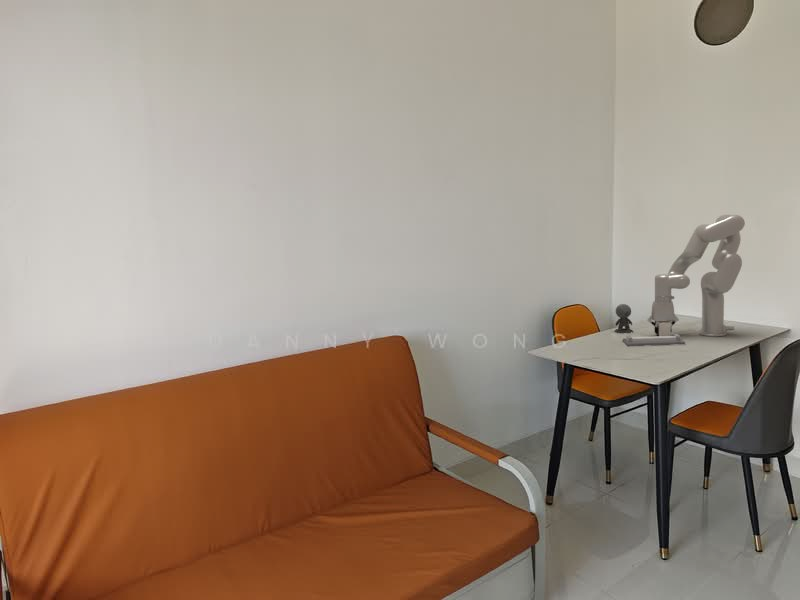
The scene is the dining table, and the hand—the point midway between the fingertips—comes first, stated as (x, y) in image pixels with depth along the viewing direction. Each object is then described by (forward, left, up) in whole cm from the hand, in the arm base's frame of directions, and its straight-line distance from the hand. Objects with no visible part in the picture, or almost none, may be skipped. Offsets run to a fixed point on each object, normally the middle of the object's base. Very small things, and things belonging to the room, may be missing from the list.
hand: (662, 333), depth 281 cm
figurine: (+16, -14, -2) cm, 21 cm away
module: (0, 0, -1) cm, 1 cm away
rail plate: (+8, +12, -1) cm, 15 cm away
